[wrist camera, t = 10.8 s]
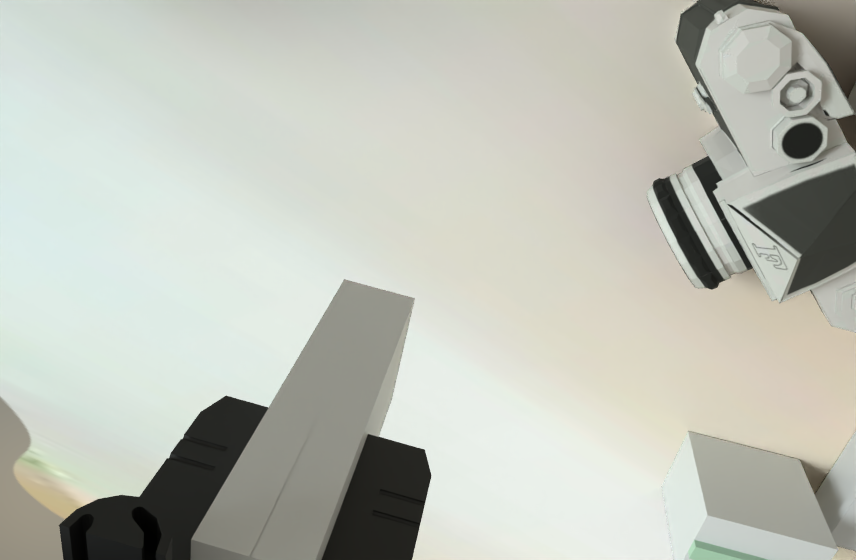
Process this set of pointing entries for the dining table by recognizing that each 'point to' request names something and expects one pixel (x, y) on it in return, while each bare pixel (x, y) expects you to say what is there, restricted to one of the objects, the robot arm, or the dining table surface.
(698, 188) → the camera
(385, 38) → the dining table surface
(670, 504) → the rail mount
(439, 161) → the dining table surface
